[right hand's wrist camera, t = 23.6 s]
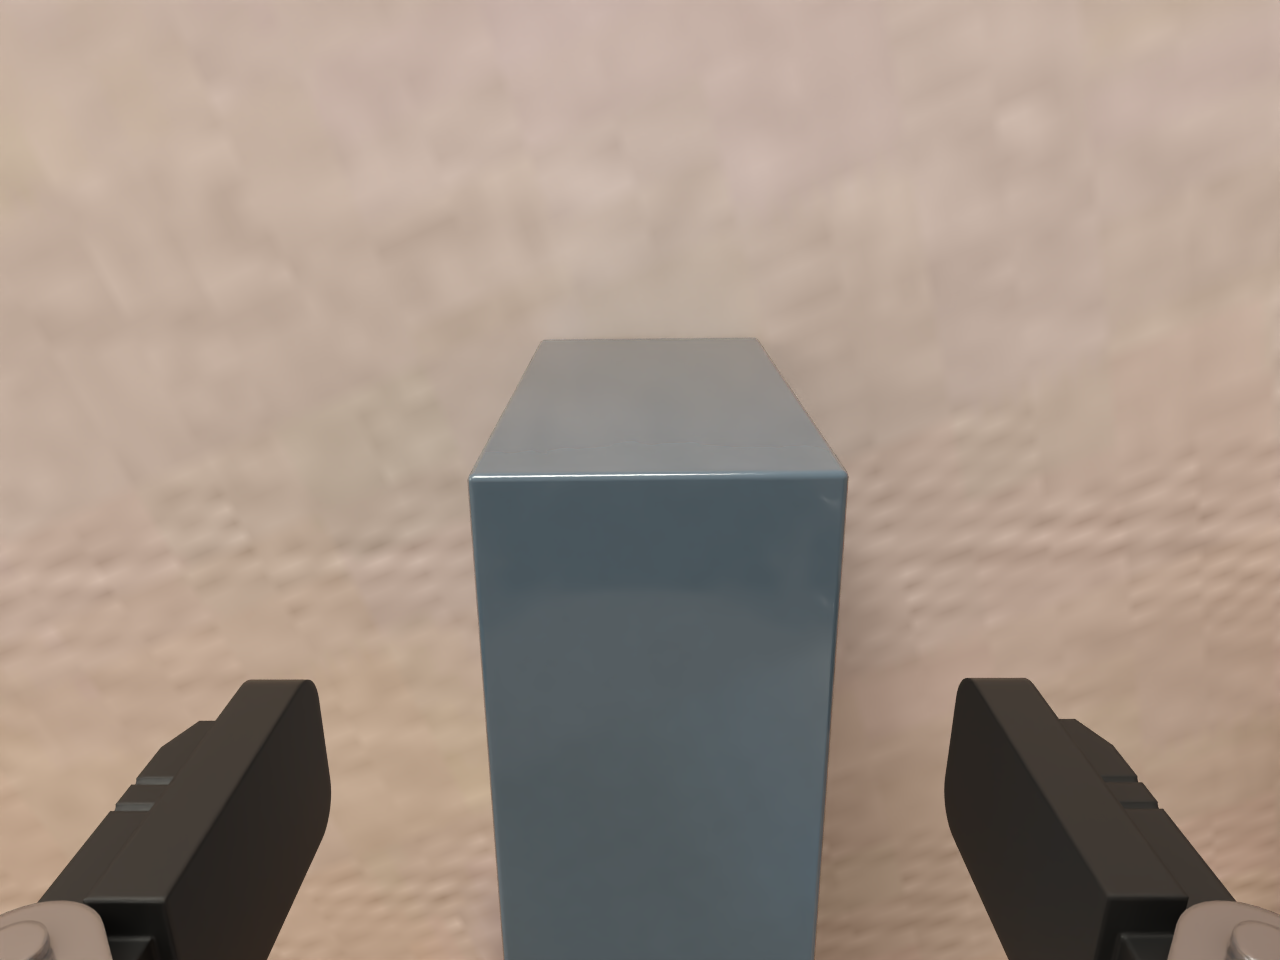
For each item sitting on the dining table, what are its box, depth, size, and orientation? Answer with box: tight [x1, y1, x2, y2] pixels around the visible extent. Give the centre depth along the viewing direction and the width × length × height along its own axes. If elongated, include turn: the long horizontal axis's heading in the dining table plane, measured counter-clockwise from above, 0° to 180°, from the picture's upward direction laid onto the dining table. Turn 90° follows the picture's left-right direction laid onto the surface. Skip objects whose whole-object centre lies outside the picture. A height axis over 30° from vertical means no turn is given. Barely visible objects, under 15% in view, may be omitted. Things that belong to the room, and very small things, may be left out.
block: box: [468, 338, 849, 960], centre depth 16 cm, size 4×8×8 cm, turn 1°
